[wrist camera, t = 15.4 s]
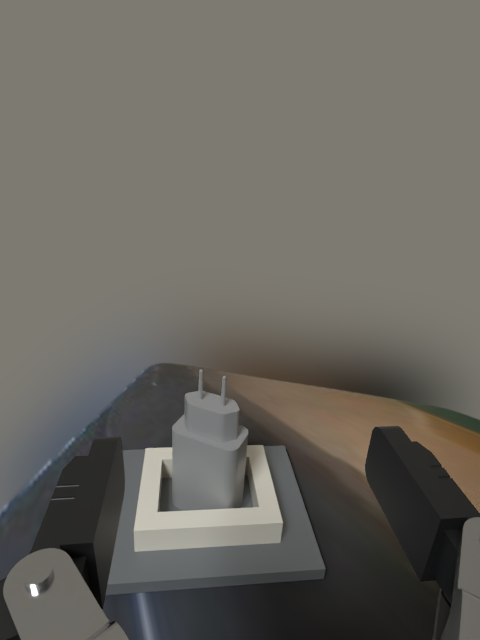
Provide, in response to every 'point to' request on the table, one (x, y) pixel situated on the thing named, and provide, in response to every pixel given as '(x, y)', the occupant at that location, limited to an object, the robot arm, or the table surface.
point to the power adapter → (208, 452)
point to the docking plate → (212, 529)
